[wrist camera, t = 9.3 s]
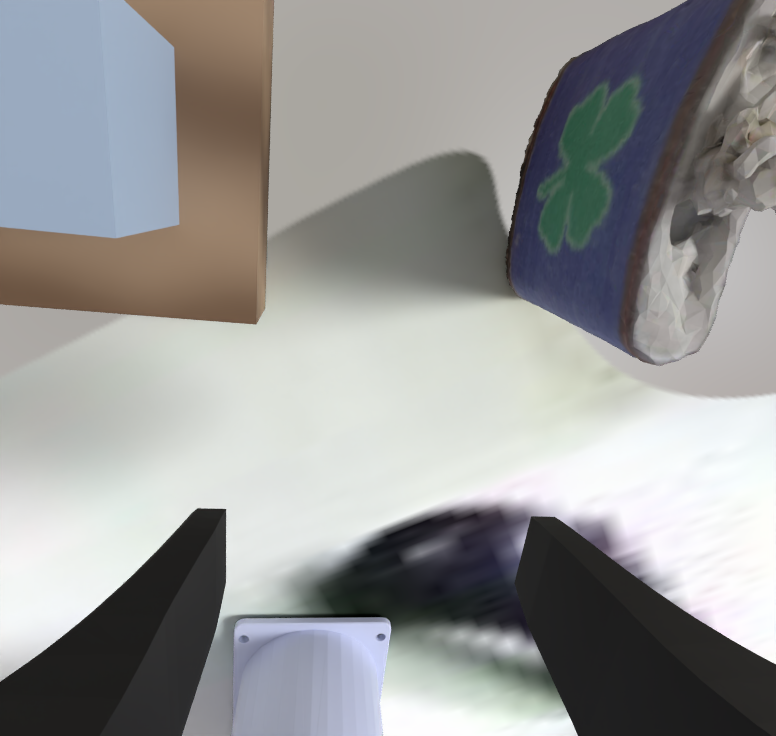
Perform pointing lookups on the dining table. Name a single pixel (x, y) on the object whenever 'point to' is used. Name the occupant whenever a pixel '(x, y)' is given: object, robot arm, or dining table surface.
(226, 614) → the dining table surface
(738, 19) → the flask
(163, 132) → the slate cube
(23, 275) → the walnut base
